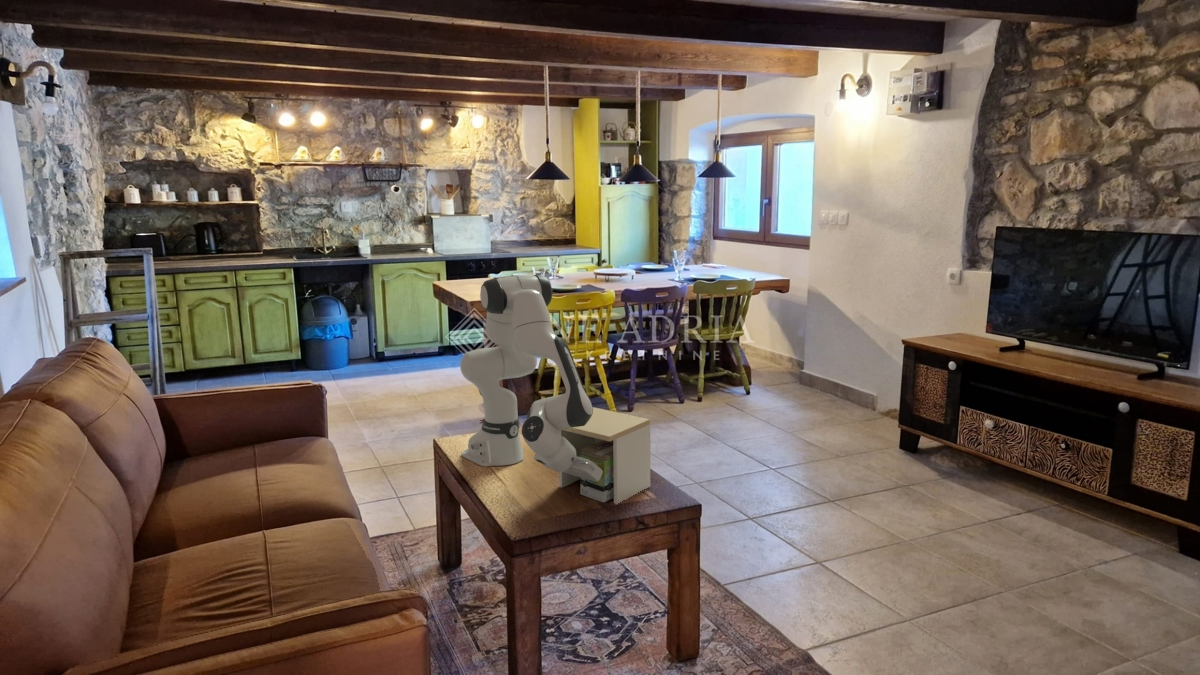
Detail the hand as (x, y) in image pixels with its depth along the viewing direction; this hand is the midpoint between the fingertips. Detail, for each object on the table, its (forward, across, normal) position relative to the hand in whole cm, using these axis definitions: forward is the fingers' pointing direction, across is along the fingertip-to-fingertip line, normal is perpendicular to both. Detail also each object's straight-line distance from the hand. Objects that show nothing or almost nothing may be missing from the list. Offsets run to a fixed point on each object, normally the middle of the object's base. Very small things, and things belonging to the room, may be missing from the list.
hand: (582, 477), depth 225 cm
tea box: (+10, -4, -1) cm, 11 cm away
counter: (+11, 0, -2) cm, 11 cm away
